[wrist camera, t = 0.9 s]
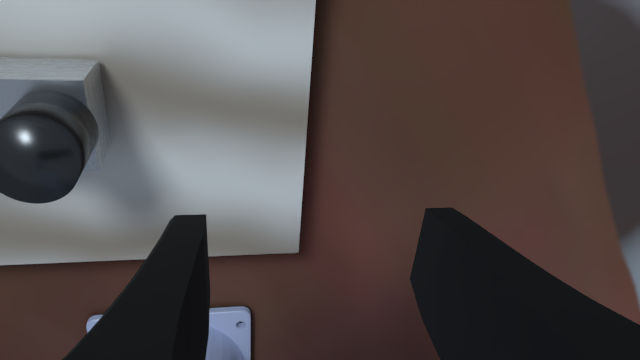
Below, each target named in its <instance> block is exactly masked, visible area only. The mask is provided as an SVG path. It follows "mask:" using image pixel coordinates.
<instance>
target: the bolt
mask: <svg viewBox="0 0 640 360" xmlns="http://www.w3.org/2000/svg"><path fill="white" fill-rule="evenodd" d="M111 144H112V142H111V135H110V129H109V123H108V116H107V110H106V103H105V97H104V91H103V84H102V78H101V72H100V65H99V60H89V59H51V58H13V57H0V193H2V194H4V195H5V196H7V197H10V198H12V199H14V200H18V201H21V202H26V203H35V204H41V203H49V202H53V201H56V200H59V199H61V198H63V197H64V196H66V195H67V194H68V193H70V192H71V190H72V189H73V188H74V186H75V185H76V183H77V181H78V179H79V177H80V175H81V173H82V171H99V170H100V167H101V165H102V163H103V161H104V159H105V157H106V154H107V152H108V150H109V148H110V146H111Z"/></svg>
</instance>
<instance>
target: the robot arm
mask: <svg viewBox="0 0 640 360" xmlns="http://www.w3.org/2000/svg"><path fill="white" fill-rule="evenodd" d="M410 280H411V284H412V287H413V291H414V294H415V298H416V301H417V304H418V307H419V310H420V313H421V317H422V319H423V322H424V324H425V326H426V329H427V331H428V333H429V335H430V337H431V340H432V342H433V344H434V346H435V349H436V351H437V353H438V355H439V357H440V359H441V360H640V325H639V324H637V323H635V322H633V321H631V320H629V319H627V318H625V317H624V316H622V315H620V314H618V313H616V312H614V311H612V310H610V309H609V308H607V307H605V306H603V305H601V304H599V303H598V302H596V301H594V300H592V299H591V298H589V297H587V296H585V295H584V294H582V293H580V292H579V291H577V290H575V289H574V288H572V287H571V286H569V285H567V284H566V283H564V282H562V281H561V280H559V279H558V278H556V277H554V276H553V275H551V274H550V273H548V272H547V271H545V270H544V269H542V268H540V267H539V266H537V265H536V264H534V263H533V262H531V261H530V260H528V259H527V258H525V257H524V256H523V255H521V254H520V253H518V252H517V251H515V250H514V249H512V248H511V247H509V246H508V245H507V244H505V243H504V242H502V241H501V240H499V239H498V238H497V237H495V236H494V235H492V234H491V233H489V232H488V231H487V230H485V229H484V228H482V227H481V226H479V225H478V224H477V223H475V222H474V221H472V220H471V219H469V218H468V217H466V216H465V215H463V214H462V213H460V212H458V211H457V210H455V209H453V208H426V210H425V215H424V219H423V223H422V228H421V232H420V237H419V241H418V246H417V250H416V255H415V259H414V263H413V268H412V272H411V277H410ZM238 322H243V323H238ZM86 328H87V332H88V333H87V334H86V335H85V336H84V337H83V338H82V339H81V341H80V342H79V343H78V344H77V345H76V346H75V347H74V348H73V349H72V350H71V351H70V352H69V353H68V354H67V355H66V356H65V357H64V358H63V359H62V360H251V312H250V310H249V309H248V308H247V307H243V306H238V307H221V308H210V280H209V261H208V241H207V222H206V214H201V215H175V216H174V217H173V218H172V219H171V220H170V221H169V223H168V225H167V227H166V228H165V230H164V232H163V233H162V235H161V237H160V238H159V240H158V242H157V243H156V245H155V246H154V248H153V249H152V251H151V252H150V254H149V255H148V257H147V258H146V260H145V261H144V263H143V264H142V265H141V267H140V268H139V270H138V271H137V272H136V274H135V275H134V277H133V278H132V279H131V281H130V282H129V284H128V285H127V286H126V287H125V289H124V290H123V291H122V293H121V294H120V295H119V296H118V297H117V299H116V300H115V301H114V302H113V304H112V305H111V306H110V307H109V308H108V310H107V311H106V312H105V313H104V314H103V315H95V316H92V317H90V318H89V319H88V322H87V325H86Z"/></svg>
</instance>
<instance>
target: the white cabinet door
mask: <svg viewBox="0 0 640 360" xmlns="http://www.w3.org/2000/svg"><path fill="white" fill-rule="evenodd" d="M315 6H316V0H0V57H13V58H51V59H89V60H99V65H100V72H101V78H102V84H103V91H104V97H105V103H106V110H107V116H108V123H109V129H110V135H111V142H112V144H111V146H110V148H109V150H108V152H107V154H106V157H105V159H104V161H103V163H102V165H101V167H100V170H99V171H82V173H81V175H80V177H79V179H78V181H77V183H76V185H75V186H74V188H73V189H72V190H71V192H70V193H68V194H67V195H66V196H64V197H63V198H61V199H59V200H56V201H53V202H49V203H41V204H35V203H26V202H21V201H18V200H14V199H12V198H10V197H7V196H5V195H4V194H2V193H0V265H19V264H42V263H66V262H90V261H114V260H137V259H146V258H147V257H148V255H149V254H150V252H151V251H152V249H153V248H154V246H155V245H156V243H157V242H158V240H159V238H160V237H161V235H162V233H163V232H164V230H165V228H166V227H167V225H168V223H169V221H170V220H171V219H172V218H173V217H174V216H175V215H201V214H206V222H207V241H208V256H232V255H256V254H280V253H299V238H300V224H301V209H302V194H303V180H304V165H305V151H306V136H307V122H308V107H309V93H310V78H311V64H312V49H313V35H314V20H315Z"/></svg>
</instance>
